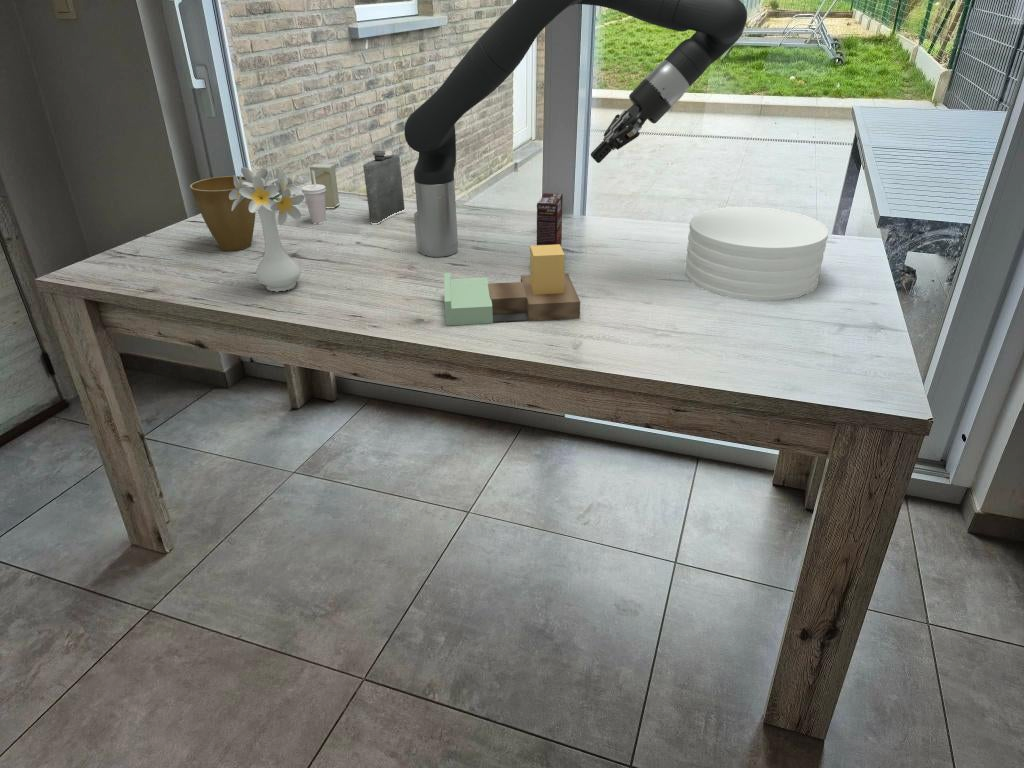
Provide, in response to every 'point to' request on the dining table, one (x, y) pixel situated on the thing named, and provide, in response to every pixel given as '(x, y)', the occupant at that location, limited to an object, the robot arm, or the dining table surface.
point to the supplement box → (549, 219)
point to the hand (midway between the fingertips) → (594, 159)
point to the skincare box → (326, 182)
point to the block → (547, 269)
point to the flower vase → (271, 223)
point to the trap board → (532, 302)
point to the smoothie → (315, 201)
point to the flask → (383, 186)
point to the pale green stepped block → (467, 301)
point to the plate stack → (755, 252)
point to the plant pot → (224, 212)
